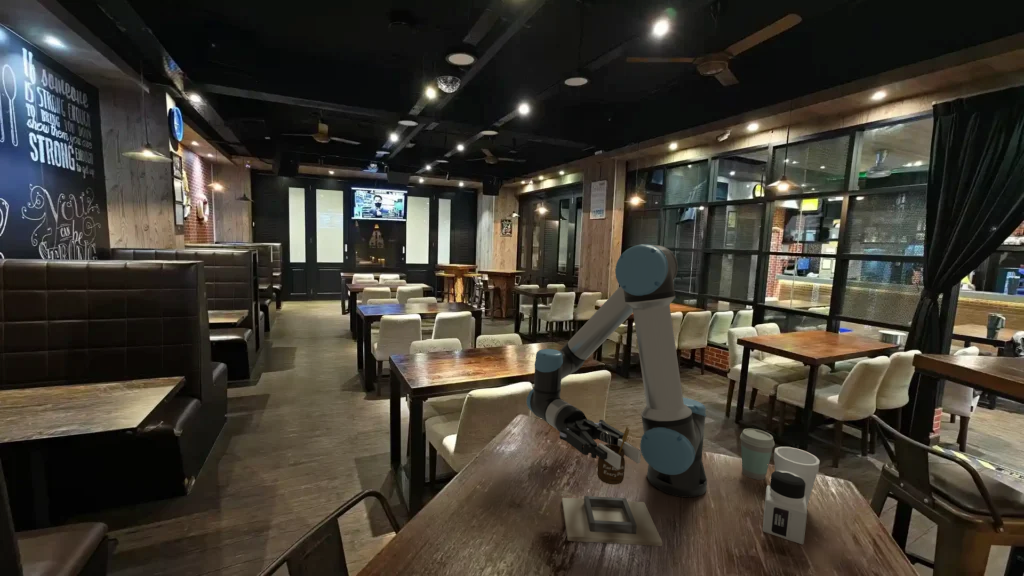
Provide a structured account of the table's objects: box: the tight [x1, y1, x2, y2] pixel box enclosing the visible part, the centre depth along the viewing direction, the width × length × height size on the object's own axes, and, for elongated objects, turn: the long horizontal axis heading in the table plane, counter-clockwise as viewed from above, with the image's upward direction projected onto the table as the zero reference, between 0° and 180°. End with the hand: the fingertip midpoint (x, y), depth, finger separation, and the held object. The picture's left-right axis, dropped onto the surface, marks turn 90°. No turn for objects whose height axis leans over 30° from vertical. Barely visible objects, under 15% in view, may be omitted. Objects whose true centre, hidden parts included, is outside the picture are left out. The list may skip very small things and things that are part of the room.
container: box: [762, 470, 808, 545], centre depth 97 cm, size 8×8×13 cm
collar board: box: [561, 495, 663, 547], centre depth 98 cm, size 20×14×3 cm
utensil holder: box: [596, 426, 630, 485], centre depth 97 cm, size 6×6×12 cm
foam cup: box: [773, 446, 820, 507], centre depth 107 cm, size 10×9×13 cm
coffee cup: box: [739, 428, 776, 481], centre depth 121 cm, size 9×8×12 cm
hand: (629, 459), depth 92 cm, fingers closed on utensil holder, 5 cm apart
